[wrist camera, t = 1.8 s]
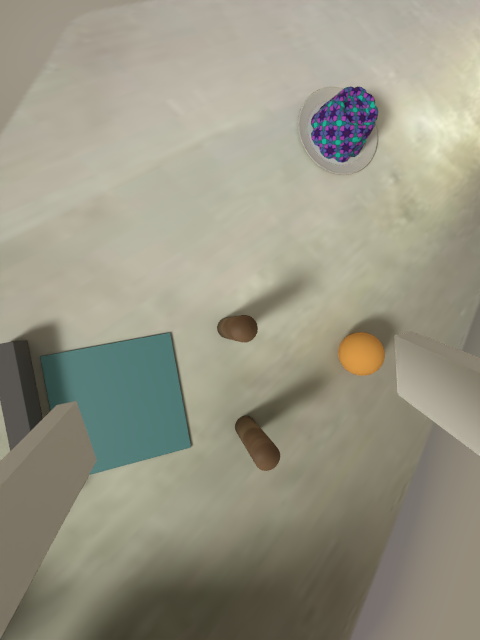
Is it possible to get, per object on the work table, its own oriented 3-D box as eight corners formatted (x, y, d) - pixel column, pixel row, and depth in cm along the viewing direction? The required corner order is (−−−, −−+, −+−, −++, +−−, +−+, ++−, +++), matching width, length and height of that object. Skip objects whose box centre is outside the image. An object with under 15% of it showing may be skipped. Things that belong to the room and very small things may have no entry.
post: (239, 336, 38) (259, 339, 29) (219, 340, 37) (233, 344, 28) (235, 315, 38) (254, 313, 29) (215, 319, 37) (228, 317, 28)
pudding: (304, 180, 40) (323, 159, 35) (288, 91, 40) (305, 57, 35) (380, 174, 43) (408, 153, 38) (366, 90, 43) (392, 58, 38)
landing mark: (190, 446, 36) (191, 447, 36) (64, 480, 33) (64, 481, 33) (170, 332, 36) (169, 332, 36) (40, 356, 33) (40, 356, 32)
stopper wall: (58, 501, 33) (47, 518, 30) (38, 506, 32) (24, 524, 29) (27, 340, 32) (12, 341, 29) (6, 343, 32) (-11, 345, 29)
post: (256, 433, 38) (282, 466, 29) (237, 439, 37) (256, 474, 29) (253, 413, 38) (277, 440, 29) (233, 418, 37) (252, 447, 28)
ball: (369, 367, 42) (398, 373, 36) (334, 375, 40) (358, 383, 35) (362, 328, 41) (390, 328, 36) (327, 335, 40) (350, 337, 35)
